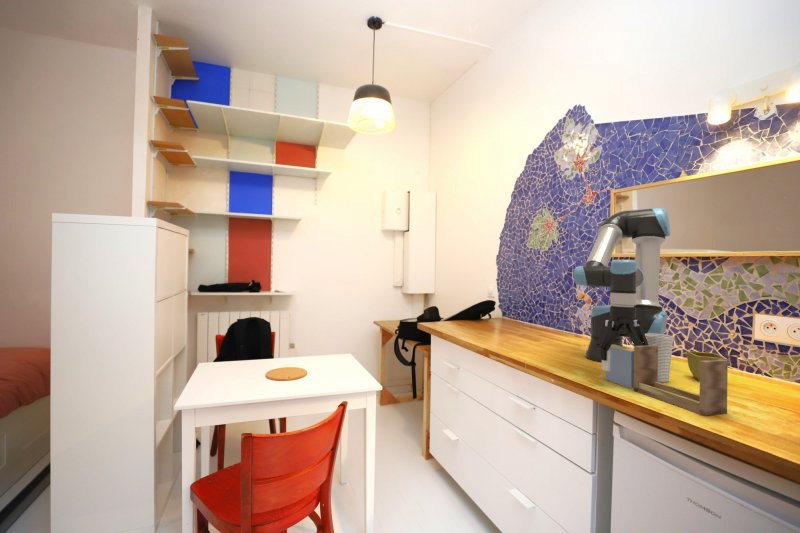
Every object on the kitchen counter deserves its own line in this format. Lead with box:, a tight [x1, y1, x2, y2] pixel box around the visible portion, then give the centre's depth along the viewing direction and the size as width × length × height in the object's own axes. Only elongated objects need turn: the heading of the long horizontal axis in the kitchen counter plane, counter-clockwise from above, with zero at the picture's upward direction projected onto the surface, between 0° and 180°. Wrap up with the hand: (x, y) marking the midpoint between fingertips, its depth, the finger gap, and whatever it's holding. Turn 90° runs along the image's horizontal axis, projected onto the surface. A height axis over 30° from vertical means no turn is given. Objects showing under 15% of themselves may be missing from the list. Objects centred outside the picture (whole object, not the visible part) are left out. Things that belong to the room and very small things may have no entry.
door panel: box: [605, 344, 634, 389], centre depth 124 cm, size 4×10×12 cm, turn 17°
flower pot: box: [686, 350, 728, 381], centre depth 130 cm, size 9×9×9 cm
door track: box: [633, 345, 729, 417], centre depth 108 cm, size 8×21×14 cm, turn 17°
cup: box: [645, 333, 674, 383], centre depth 129 cm, size 8×8×16 cm
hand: (621, 369), depth 124 cm, fingers open, 13 cm apart
